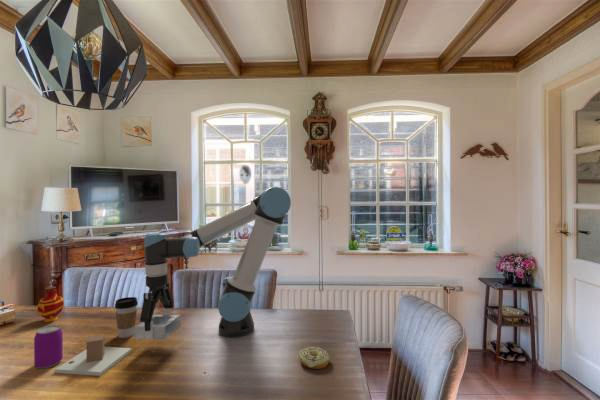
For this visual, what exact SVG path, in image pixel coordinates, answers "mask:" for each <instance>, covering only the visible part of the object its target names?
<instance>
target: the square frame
mask: <svg viewBox="0 0 600 400" xmlns="http://www.w3.org/2000/svg"><path fill="white" fill-rule="evenodd" d="M151 321H153V337H154V339H153V340H166V339H168V338H169V337H170V336H171V335H172V334H173V333H174V332H176V331H177V330H178V329H180V327H181V326H182V325H181V324H182V323H181V315H180V314H170V315H163V314H153V316H152V320H151ZM134 336H135V337H134V340H146V339H145V323H144V322H140V323H138V324H137V325H135V333H134Z"/></svg>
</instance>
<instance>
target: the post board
mask: <svg viewBox="0 0 600 400" xmlns="http://www.w3.org/2000/svg"><path fill="white" fill-rule="evenodd" d="M132 351H133V349H132V348H131V347H116V346H115V347H114V346H105V334H98V335H92V336H88V338H87V341H86V349H84V350H83V351H81V352H80V353H78V354H76V355H75V356H74V357H72V358H70V359H69V360H67V361H65V362H64V363H62V364H60V365H59V366H57V367H56V368H54V373H55V374H68V375H81V376H97V377H101V376H102V375H103V374H105V373H106V372H108V371H109V370H110V369H111V368H113V367H114V366H116V364H118V363H119V362H120V361H122V360H123V359H124V358H125V357H127V356H128V355H129V354H130V353H132Z"/></svg>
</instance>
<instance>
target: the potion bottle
mask: <svg viewBox="0 0 600 400" xmlns="http://www.w3.org/2000/svg"><path fill="white" fill-rule="evenodd" d="M56 288H57V286H55V285H54V286H48V287H45V291H44V293H45V294H46V296H45V297H42V298H41V299H40V300H39V301H38V304H37V305H36V307H37V308H36V309H37V315H38V316H41V317H42V318H44V321H43V322H44V323H50V322H55V321H57V320H58V317H57V316H58V315H59V314H60V313H61V312H62V311H63V308H64V307H65V300H64V298H63V297H62V296H61V295H58V294H56V292H57V289H56Z"/></svg>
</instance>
